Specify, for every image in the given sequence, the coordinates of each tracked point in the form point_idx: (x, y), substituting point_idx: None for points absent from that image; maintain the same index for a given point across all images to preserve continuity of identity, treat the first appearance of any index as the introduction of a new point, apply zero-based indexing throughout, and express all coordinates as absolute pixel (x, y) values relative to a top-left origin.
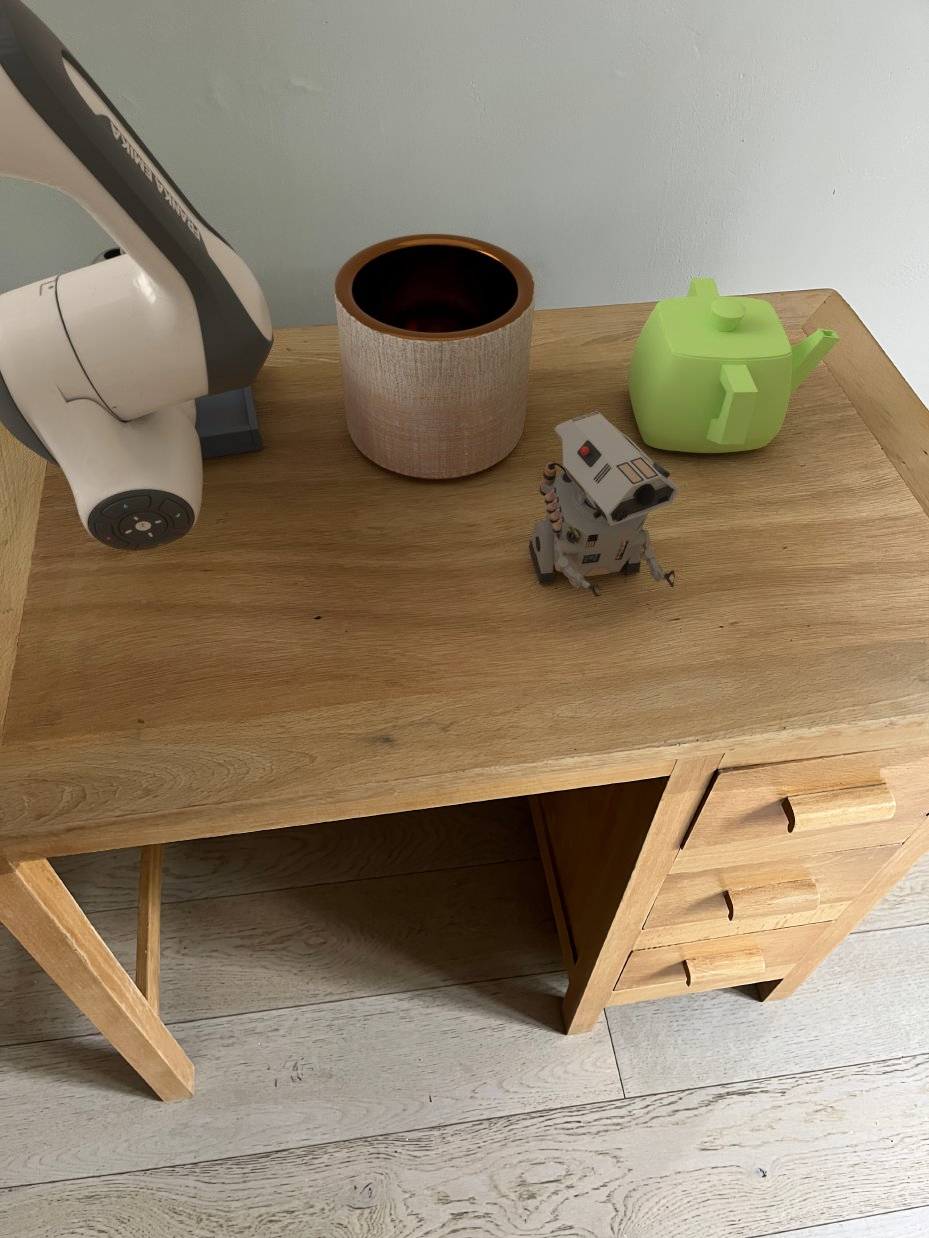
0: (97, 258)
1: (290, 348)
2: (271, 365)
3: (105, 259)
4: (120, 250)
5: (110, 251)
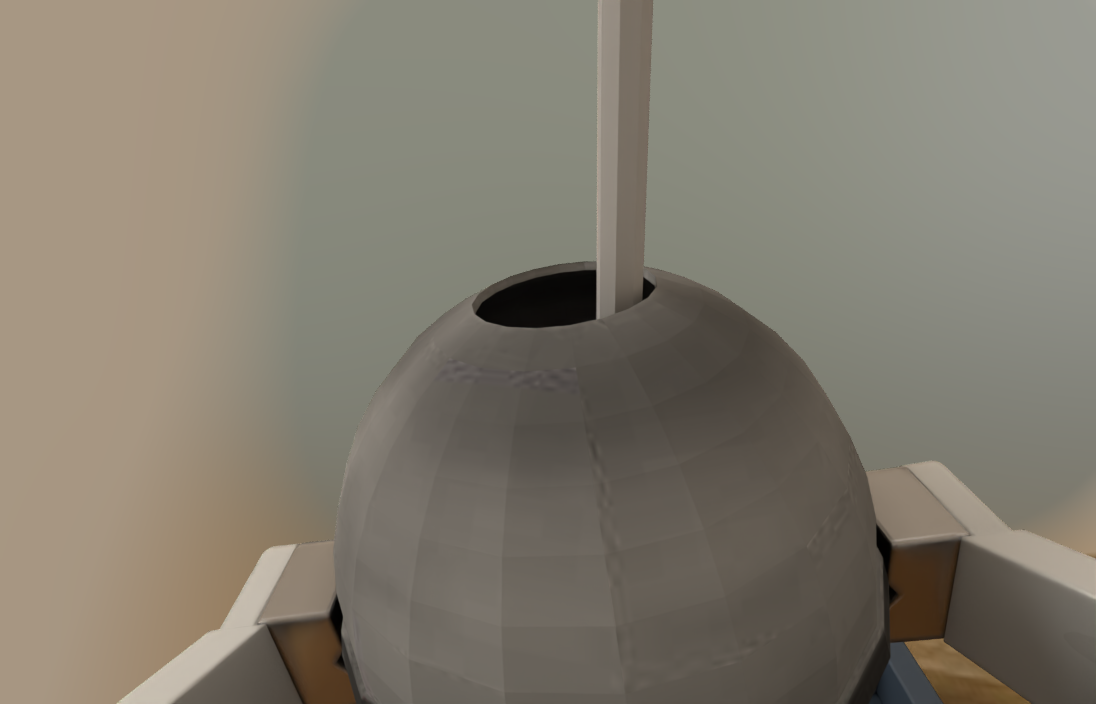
0: (433, 326)
1: None
2: (966, 673)
3: (483, 325)
4: (600, 257)
5: (521, 299)
